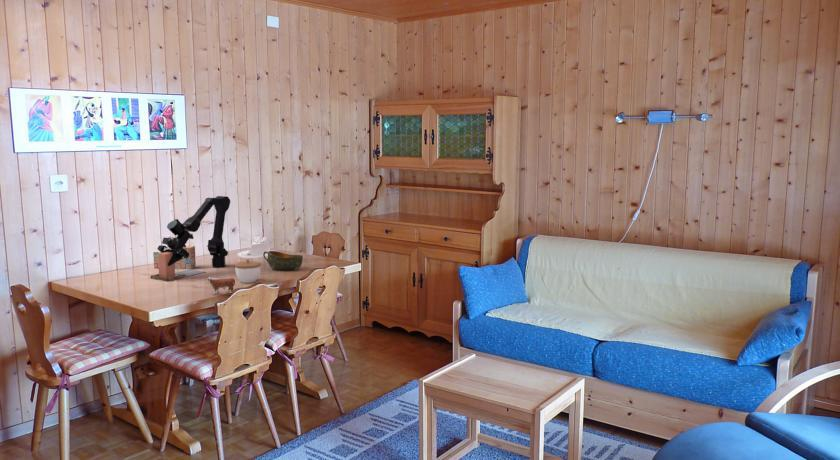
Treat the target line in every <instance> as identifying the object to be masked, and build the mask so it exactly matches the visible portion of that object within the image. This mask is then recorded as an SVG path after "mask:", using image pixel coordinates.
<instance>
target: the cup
mask: <svg viewBox="0 0 840 460" xmlns="http://www.w3.org/2000/svg"><path fill="white" fill-rule="evenodd" d="M277 251H278V250H276V251H269V252H264V254H263V256H264V258H263V259H265V261H266V262H267V264H268V265H269V267H270V268H271V270H272V271H274V272H296V271H298V270H299V268H301V266H302V264H303V261H304V259H303V258H304V255H302V254H288V253H284V252H280V251H279V252H277ZM266 253H268V257H267V258H266V257H265V254H266Z"/></svg>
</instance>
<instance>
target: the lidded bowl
mask: <svg viewBox="0 0 840 460" xmlns="http://www.w3.org/2000/svg"><path fill="white" fill-rule="evenodd" d="M261 265H262V263H261V262H260V261H254V260H253V261H252V260H250V259H246V261H240V262H236V263H235V264H234V268H235V274H236V277H237V279H238V280H239V281H240V282H241V283H243V284H246V283H247V284H249V283H251V284H252V283H254V282H256V281H257V280H258V279H259V278H260V275H261V269H262V268H261Z"/></svg>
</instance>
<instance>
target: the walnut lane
mask: <svg viewBox="0 0 840 460" xmlns="http://www.w3.org/2000/svg"><path fill="white" fill-rule="evenodd" d="M184 277H185V278H186V276H185V274H183V275H175V276H174V277H170V278H165V277H160V276H159V273H156V274H152V275H150V279H152V280H158V281H163V282H170V281H175V280H180V279H184Z"/></svg>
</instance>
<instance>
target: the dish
mask: <svg viewBox="0 0 840 460" xmlns="http://www.w3.org/2000/svg"><path fill="white" fill-rule="evenodd" d="M253 240H254V241H253V242H252V243H251V244H250V249H248V250H242V251H239V252H237V257H238V258H243V259H265V258H264V256H263V254H264V252H269V251H277V252H280V251H278V250H277V249H271V244H270V243H271V242H270V241H266V240H267V236H260V235H258V236H255V237H253ZM265 257H266V258H267V259H268V253H266V254H265Z"/></svg>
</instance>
